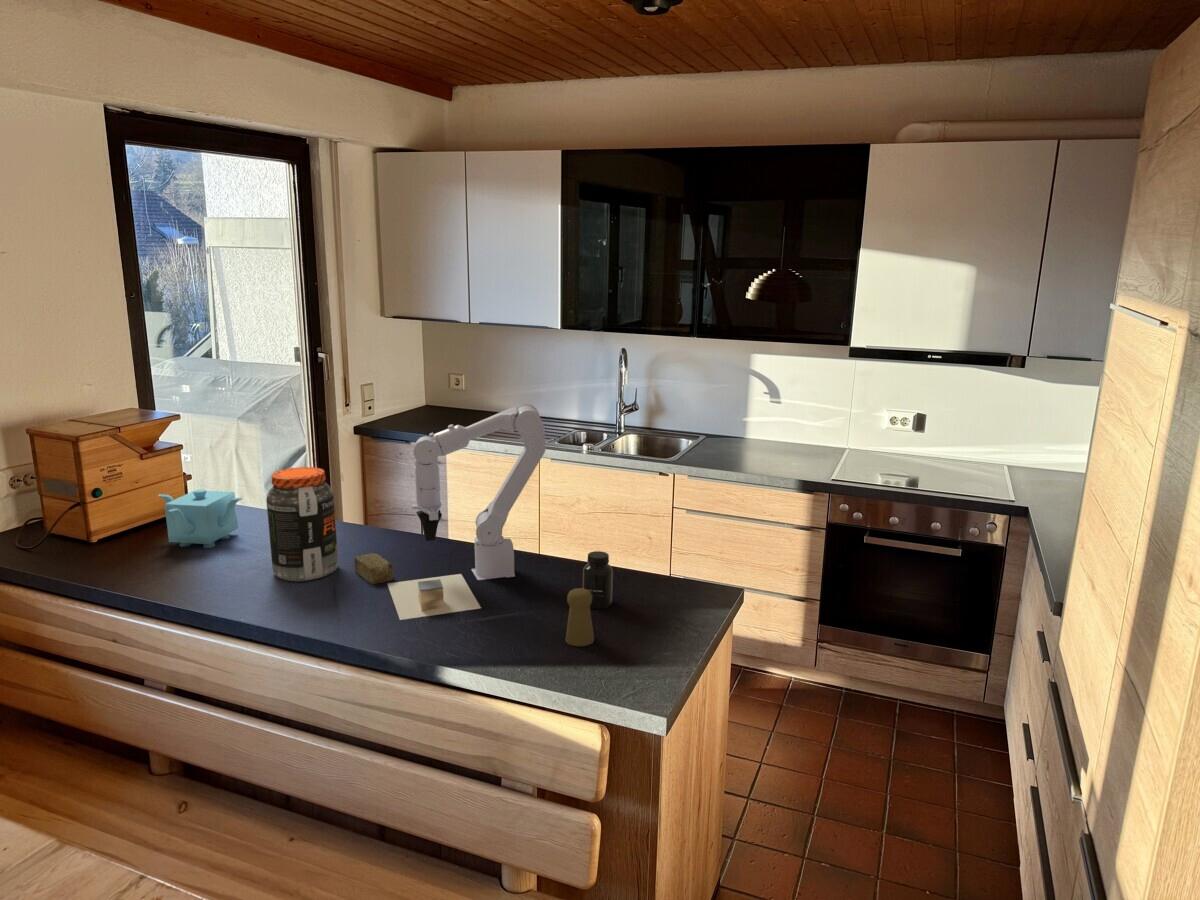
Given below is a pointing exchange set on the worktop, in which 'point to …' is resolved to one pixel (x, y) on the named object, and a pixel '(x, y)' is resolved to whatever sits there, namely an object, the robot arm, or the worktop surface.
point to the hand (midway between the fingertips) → (430, 539)
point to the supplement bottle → (598, 579)
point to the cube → (430, 594)
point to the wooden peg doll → (579, 618)
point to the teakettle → (201, 517)
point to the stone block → (373, 568)
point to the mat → (453, 593)
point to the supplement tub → (302, 524)
